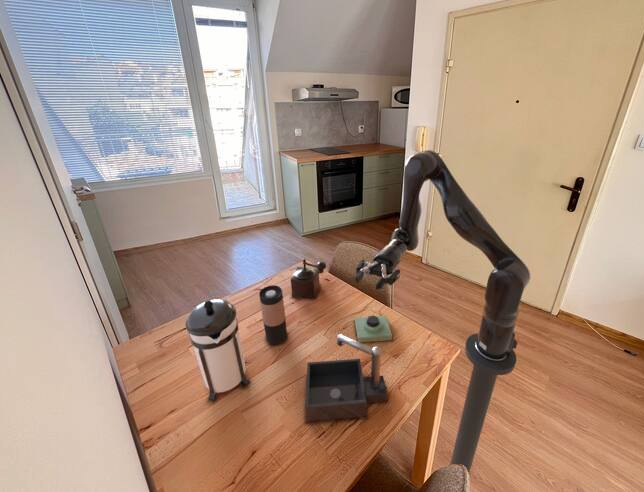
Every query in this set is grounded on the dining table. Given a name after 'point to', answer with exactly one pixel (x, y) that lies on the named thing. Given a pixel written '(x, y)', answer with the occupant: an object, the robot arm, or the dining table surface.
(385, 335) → the switch block
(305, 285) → the manual coffee grinder
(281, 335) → the travel mug
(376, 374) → the faucet
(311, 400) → the sink
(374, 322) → the button
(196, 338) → the coffee press
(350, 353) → the dining table surface
